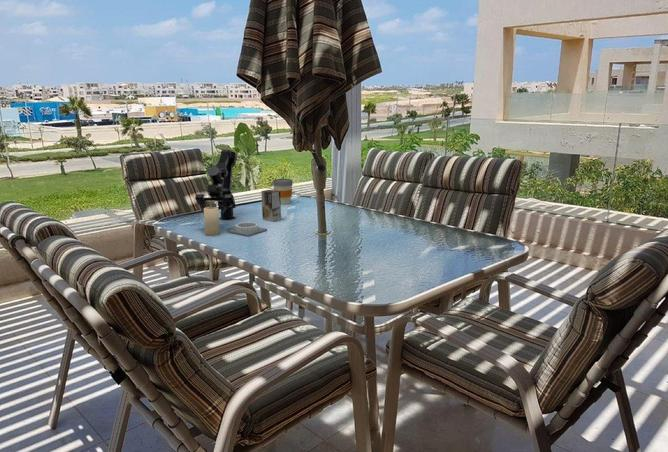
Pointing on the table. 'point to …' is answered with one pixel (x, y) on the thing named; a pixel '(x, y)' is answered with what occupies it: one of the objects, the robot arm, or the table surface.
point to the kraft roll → (211, 221)
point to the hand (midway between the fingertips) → (212, 213)
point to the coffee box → (271, 205)
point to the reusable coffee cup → (283, 189)
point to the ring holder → (247, 229)
